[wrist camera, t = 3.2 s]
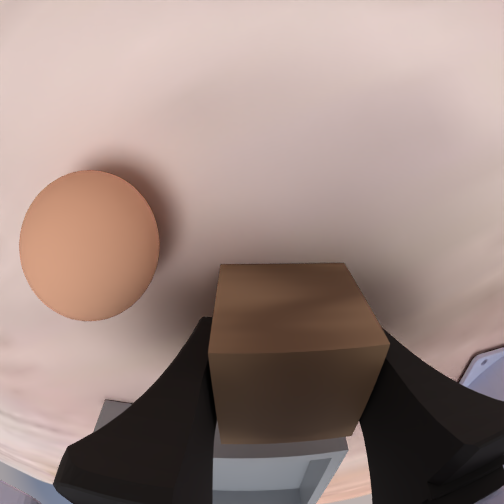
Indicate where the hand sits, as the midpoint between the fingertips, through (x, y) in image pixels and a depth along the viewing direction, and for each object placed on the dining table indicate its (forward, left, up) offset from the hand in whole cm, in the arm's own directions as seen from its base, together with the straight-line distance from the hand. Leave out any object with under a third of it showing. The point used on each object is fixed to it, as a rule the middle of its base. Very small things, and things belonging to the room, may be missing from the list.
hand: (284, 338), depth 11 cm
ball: (+6, -4, -1) cm, 7 cm away
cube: (0, 0, -1) cm, 1 cm away
